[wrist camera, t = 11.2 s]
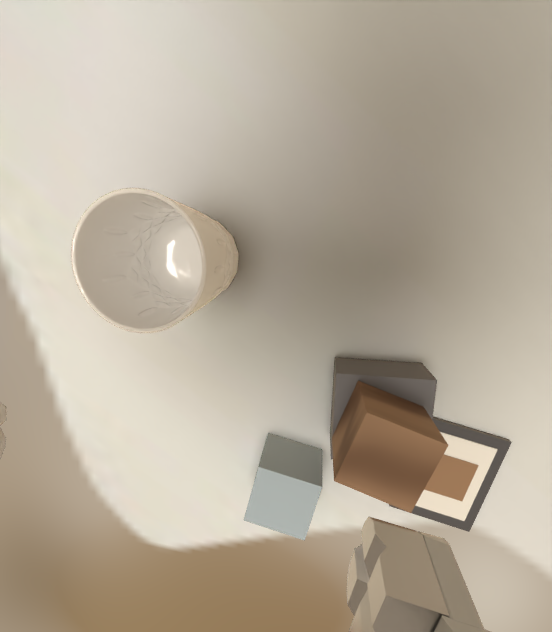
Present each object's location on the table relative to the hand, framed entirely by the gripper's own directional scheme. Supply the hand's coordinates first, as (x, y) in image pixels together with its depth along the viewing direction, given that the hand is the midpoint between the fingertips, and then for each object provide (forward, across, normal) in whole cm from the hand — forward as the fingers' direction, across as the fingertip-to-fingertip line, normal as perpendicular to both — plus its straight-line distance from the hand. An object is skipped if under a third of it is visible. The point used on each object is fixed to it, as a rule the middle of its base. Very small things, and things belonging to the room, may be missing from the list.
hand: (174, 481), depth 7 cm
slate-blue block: (+21, -4, +15) cm, 26 cm away
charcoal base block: (+22, -9, +6) cm, 24 cm away
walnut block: (+18, -9, +6) cm, 21 cm away
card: (+21, -17, +11) cm, 29 cm away
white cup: (+22, +8, -2) cm, 23 cm away
